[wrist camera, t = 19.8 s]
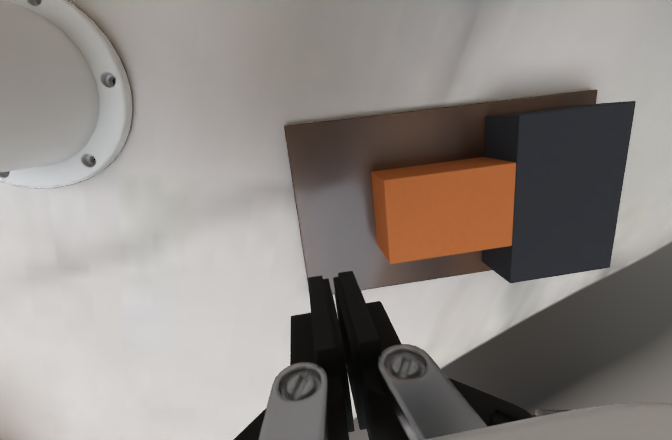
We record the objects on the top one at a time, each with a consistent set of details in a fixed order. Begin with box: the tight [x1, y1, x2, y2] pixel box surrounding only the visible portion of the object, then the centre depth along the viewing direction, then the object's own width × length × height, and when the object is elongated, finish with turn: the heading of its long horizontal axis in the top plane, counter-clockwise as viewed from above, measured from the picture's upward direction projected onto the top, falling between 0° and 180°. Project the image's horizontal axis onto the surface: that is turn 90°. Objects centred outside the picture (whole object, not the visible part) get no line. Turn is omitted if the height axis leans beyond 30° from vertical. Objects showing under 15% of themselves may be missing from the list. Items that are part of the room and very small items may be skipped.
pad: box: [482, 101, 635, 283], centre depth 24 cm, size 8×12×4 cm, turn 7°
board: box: [284, 90, 597, 295], centre depth 26 cm, size 24×14×1 cm, turn 97°
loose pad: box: [371, 157, 516, 264], centre depth 24 cm, size 9×6×4 cm, turn 97°
